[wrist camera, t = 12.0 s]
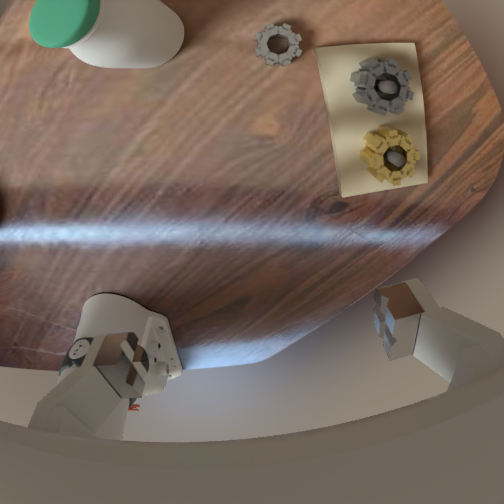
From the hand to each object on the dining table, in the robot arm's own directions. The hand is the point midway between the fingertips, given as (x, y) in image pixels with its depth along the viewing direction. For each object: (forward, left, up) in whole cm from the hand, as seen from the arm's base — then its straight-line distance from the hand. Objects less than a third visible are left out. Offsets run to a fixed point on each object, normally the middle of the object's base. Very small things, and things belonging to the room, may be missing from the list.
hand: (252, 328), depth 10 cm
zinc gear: (+10, -5, -29) cm, 31 cm away
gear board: (0, -15, -29) cm, 33 cm away
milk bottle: (+15, +8, -29) cm, 34 cm away
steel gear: (+4, -15, -28) cm, 32 cm away
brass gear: (-4, -15, -27) cm, 32 cm away
